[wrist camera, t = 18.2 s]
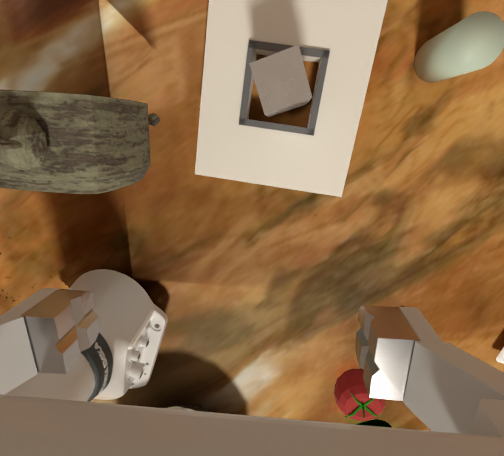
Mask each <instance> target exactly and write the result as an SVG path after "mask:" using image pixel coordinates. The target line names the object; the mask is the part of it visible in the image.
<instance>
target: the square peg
mask: <svg viewBox="0 0 504 456" xmlns="http://www.w3.org/2000/svg"><path fill="white" fill-rule="evenodd" d="M249 64H250V67H251V71H252V74H253V78H254V81H255V84H256V88H257V91H258V94H259V98H260V101H261V104H262V108H263V111H264V115H266V116H268V117H272V116H275V115H278V114H281V113H284V112H287V111H289V110H292V109H295V108H298V107H301V106H304V105H306V104H307V103H308V102H309V101H310V100H311V99H312V95H311V91H310V87H309V83H308V79H307V75H306V71H305V67H304V63H303V59H302V55H301V51H300V47H299V44H298V45H296V46H293V47H291V48H288V49H285V50H283V51H280V52H278V53H275V54H272V55H270V56H267V57H265V58H262V59H259V60H257V61H254V62H252V63H249Z"/></svg>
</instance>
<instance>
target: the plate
mask: <svg viewBox="0 0 504 456" xmlns="http://www.w3.org/2000/svg"><path fill="white" fill-rule="evenodd" d="M496 360H497V362H501V363H504V347H503V348H502V350H501V351H500V353H499V354H498V356H497V358H496Z"/></svg>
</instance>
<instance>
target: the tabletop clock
mask: <svg viewBox="0 0 504 456" xmlns="http://www.w3.org/2000/svg"><path fill="white" fill-rule="evenodd" d="M159 121H160V120H159V117H158V116H157V114H154V113H152V114H149V116H148V104H147V103H142V102H137V101H131V100H125V99H118V98H111V97H103V96H95V95H83V94H69V93H53V92H35V91H17V90H0V187H1V188H7V189H17V190H28V191H39V192H55V193H71V194H99V193H104V192H109V191H113V190H116V189H119V188H122V187H125V186H128V185H131V184H133V183H135V182H138V181H140V180H142V179H143V177H144V176H145V174H146V172H147V170H148V168H149V166H150V144H149V124H150V125H153V126H155V125H158V123H159Z"/></svg>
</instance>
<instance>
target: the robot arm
mask: <svg viewBox="0 0 504 456" xmlns="http://www.w3.org/2000/svg"><path fill="white" fill-rule="evenodd" d="M358 320H359V323H360V325H361V328H360V329H359V330H358V331H357V332H356V356H357V360H358V364H359V366H360V367H361V368H362V369H364V373H363V380H364V383H365V386H366V389H367V392H368V395H369V398H378V399H388V400H397V401H403V403H404V404H405V405H406V406H407V407H408V408H409V409H410V410H411V411H412V412H413V413H414V414H415V415H416V416H417V417H418V418H419V419H420V420H421V421H422V422H423V423H424V424H425V425H426V426H427V427H428V428H429V429H430V430H431V431H424V430H412V429H401V428H389V427H378V426H366V425H354V424H342V423H331V422H319V421H307V420H295V419H284V418H272V417H260V416H249V415H237V414H225V413H213V412H202V411H190V410H178V409H167V408H155V407H143V406H132V405H120V404H108V403H97V402H90V401H91V400H92V399H100V400H111V399H116V398H119V397H121V396H123V395H124V394H125V393H126V392H127V390H128V389H132V388H139V387H143V386H145V385H147V383H148V382H149V380H150V377H151V374H152V371H153V368H154V364H155V361H156V358H157V354H158V351H159V348H160V344H161V341H162V338H163V334H164V331H165V328H166V324H167V321H168V317H167V315H166V314H165V313H164V312H163V311H162V310H161V309H160V308H159V307H157V306H156V305H155V304H154V303H153V302H152V301H151V299H150V297H149V296H148V294H147V293H146V291H145V290H144V289H143V288H142V287H141V286H140V285H139V284H138V283H137V282H136V281H135V280H133V279H132V278H130V277H129V276H127V275H125V274H122V273H120V272H117V271H113V270H107V269H98V270H92V271H89V272H86V273H84V274H83V275H81V276H80V277H79V278H77V279H76V281H75V282H74V283H73V284H72V285H71V287H70V288H69V289H51V288H46V289H40V290H39V291H37V292H36V293H34V294H33V295H31V296H30V297H28V298H27V299H25V300H24V301H22V302H21V303H19V304H18V305H16V306H15V307H13V308H12V309H10V310H9V311H7V312H6V313H4V314H3V315H0V456H504V373H503V372H501V371H500V370H498V369H496V368H494V367H492V366H491V365H489V364H487V363H485V362H483V361H481V360H480V359H478V358H476V357H474V356H472V355H470V354H469V353H467V352H465V351H463V350H461V349H460V348H458V347H456V346H454V345H452V344H450V343H444V342H443V341H442V340H441V339H440V337H439V336H438V335H437V333H436V332H435V331H434V329H433V328H432V327H431V325H430V324H429V323H428V321H427V320H426V319H425V317H424V316H423V315H422V313H421V312H420V311H419V309H417V308H415V307H387V306H361V307H360V310H359V316H358ZM157 324H158V325H159V326H158V325H157Z"/></svg>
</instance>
